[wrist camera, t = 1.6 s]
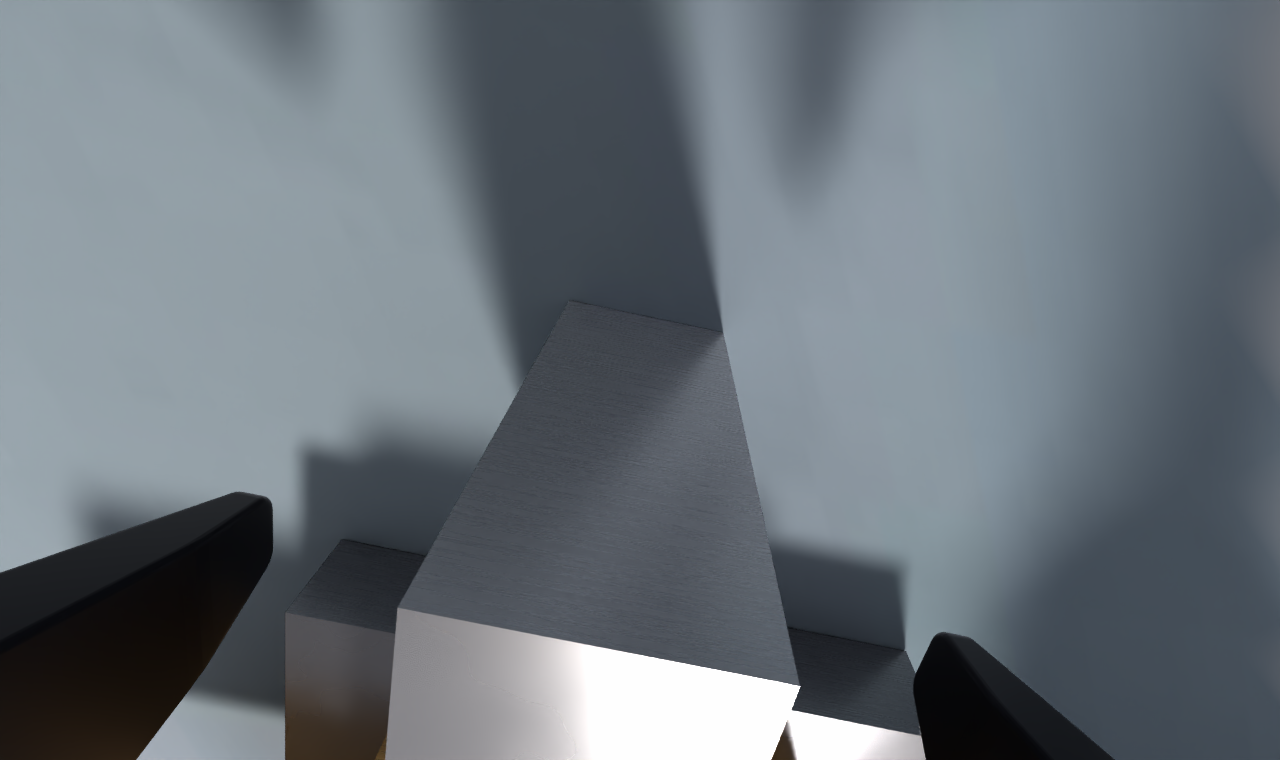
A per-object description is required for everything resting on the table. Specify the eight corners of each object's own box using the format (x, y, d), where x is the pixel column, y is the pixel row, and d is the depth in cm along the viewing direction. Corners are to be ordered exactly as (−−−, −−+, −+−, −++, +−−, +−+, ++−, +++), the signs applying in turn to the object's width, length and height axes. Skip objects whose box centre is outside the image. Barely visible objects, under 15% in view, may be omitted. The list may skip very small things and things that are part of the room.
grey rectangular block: (723, 332, 14) (800, 687, 5) (679, 497, 15) (685, 975, 7) (569, 299, 13) (398, 607, 5) (540, 468, 15) (371, 917, 7)
